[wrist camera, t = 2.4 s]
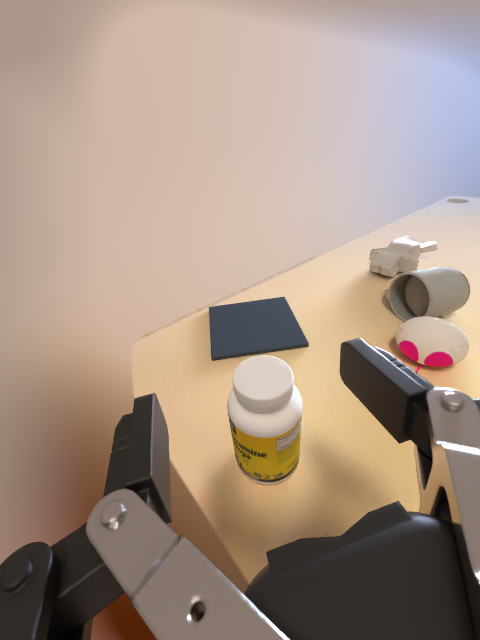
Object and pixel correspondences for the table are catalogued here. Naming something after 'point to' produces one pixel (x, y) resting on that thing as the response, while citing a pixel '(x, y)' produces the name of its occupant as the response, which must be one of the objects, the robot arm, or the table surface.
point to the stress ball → (432, 341)
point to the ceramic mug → (428, 292)
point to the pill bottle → (265, 419)
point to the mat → (253, 328)
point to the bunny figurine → (398, 256)
